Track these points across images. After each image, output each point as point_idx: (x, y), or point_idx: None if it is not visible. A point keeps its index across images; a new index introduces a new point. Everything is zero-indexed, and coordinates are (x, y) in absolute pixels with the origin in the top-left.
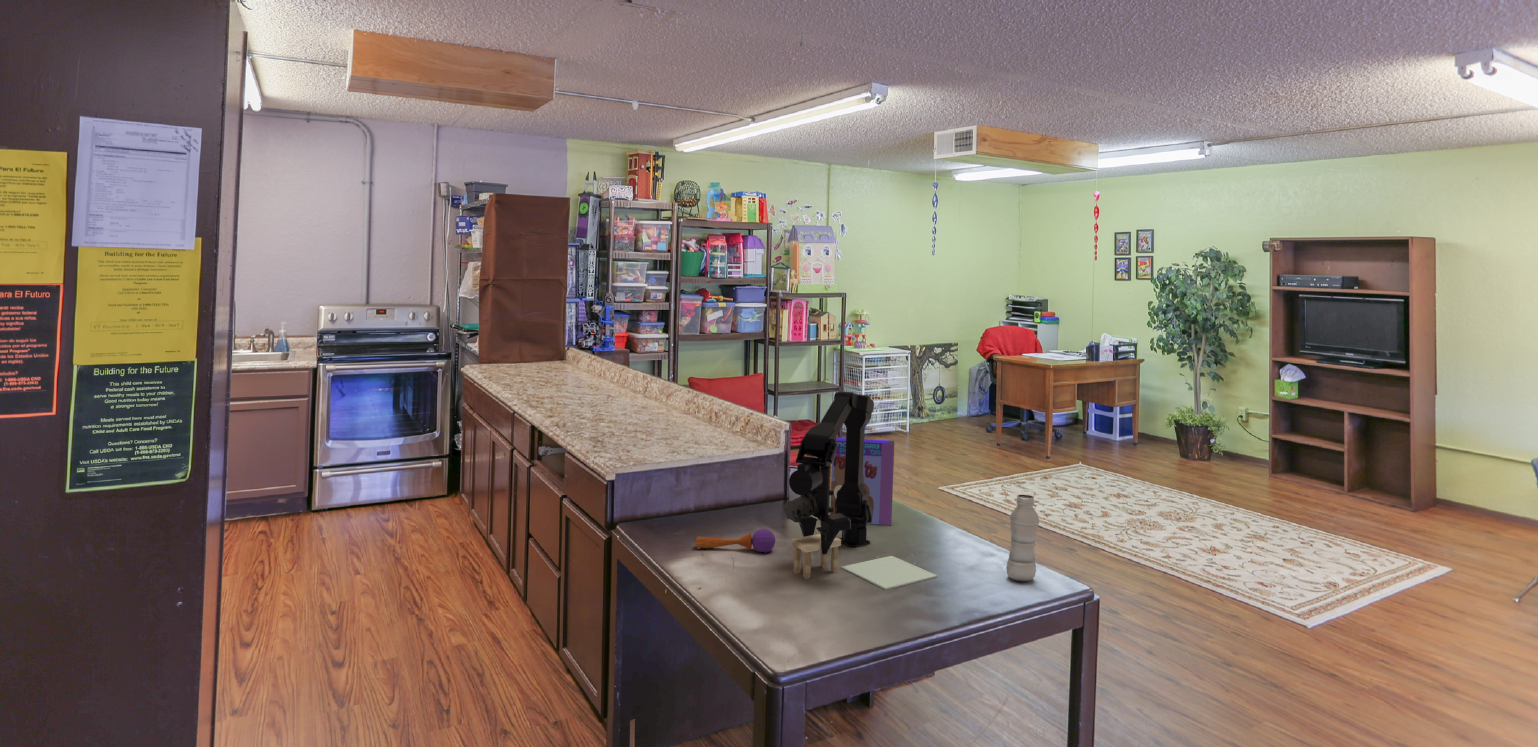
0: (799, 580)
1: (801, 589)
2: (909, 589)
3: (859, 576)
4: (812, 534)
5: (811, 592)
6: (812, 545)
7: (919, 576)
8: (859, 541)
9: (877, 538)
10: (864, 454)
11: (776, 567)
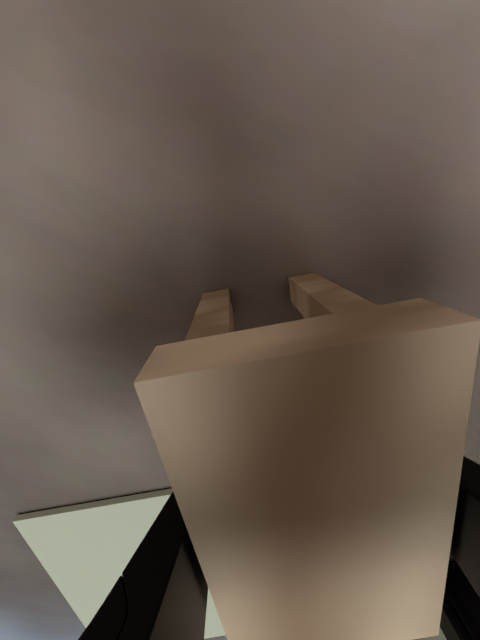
0: (194, 252)
1: (65, 205)
2: (16, 568)
3: (161, 491)
4: (459, 555)
5: (15, 239)
6: (162, 450)
7: None
8: None
9: None
10: None
11: (414, 213)
